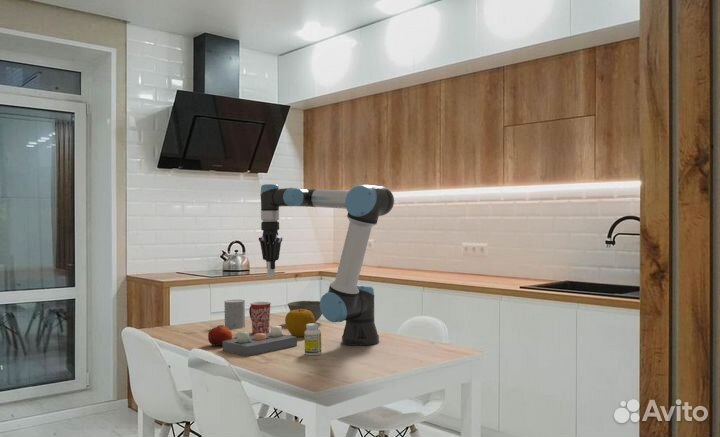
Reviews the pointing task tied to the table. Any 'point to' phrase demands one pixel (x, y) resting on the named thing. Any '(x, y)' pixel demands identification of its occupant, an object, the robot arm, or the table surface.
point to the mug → (260, 317)
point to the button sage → (243, 337)
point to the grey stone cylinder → (234, 314)
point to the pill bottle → (312, 339)
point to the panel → (259, 345)
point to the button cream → (276, 331)
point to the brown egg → (260, 336)
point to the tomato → (219, 335)
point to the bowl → (307, 307)
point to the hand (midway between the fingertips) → (271, 276)
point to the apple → (298, 321)
